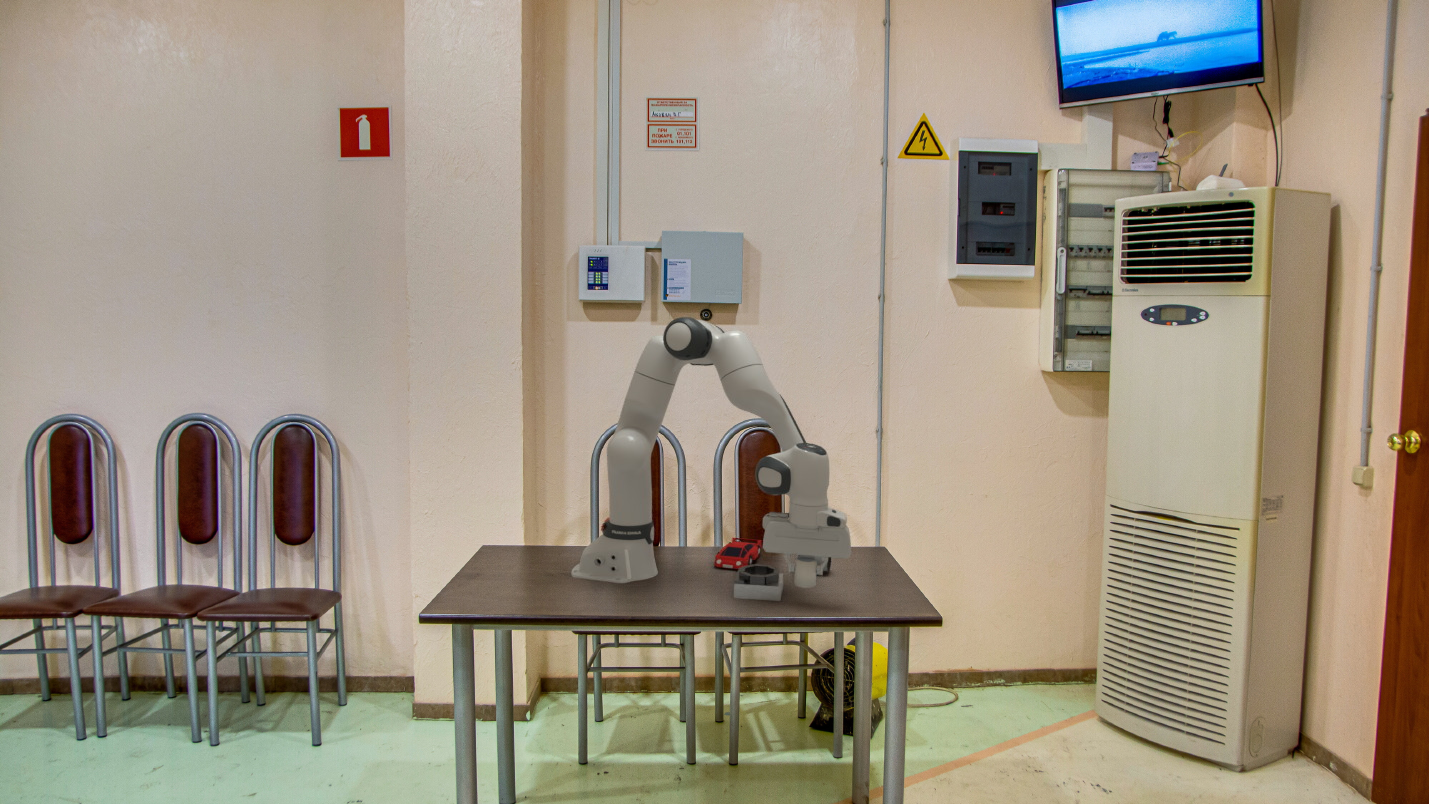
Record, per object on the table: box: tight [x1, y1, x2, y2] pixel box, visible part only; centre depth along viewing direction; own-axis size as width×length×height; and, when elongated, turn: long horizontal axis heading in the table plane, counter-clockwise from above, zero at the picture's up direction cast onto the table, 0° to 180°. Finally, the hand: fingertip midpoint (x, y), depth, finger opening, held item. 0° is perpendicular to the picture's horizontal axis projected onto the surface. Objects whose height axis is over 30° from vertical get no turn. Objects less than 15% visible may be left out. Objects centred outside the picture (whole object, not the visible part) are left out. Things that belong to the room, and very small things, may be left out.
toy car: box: [713, 537, 763, 570], centre depth 218 cm, size 10×20×5 cm, turn 166°
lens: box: [793, 555, 817, 589], centre depth 181 cm, size 5×5×6 cm
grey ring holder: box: [733, 563, 784, 602], centre depth 190 cm, size 11×10×6 cm
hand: (805, 573), depth 181 cm, fingers closed on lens, 5 cm apart
